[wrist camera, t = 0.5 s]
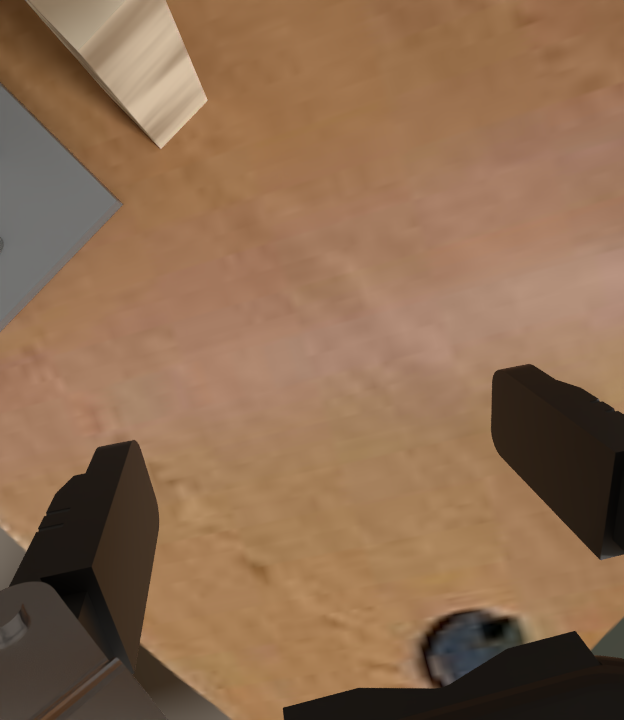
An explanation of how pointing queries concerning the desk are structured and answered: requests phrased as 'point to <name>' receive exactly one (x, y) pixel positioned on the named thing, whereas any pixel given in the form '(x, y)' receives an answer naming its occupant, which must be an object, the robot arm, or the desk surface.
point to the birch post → (131, 58)
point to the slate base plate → (41, 206)
